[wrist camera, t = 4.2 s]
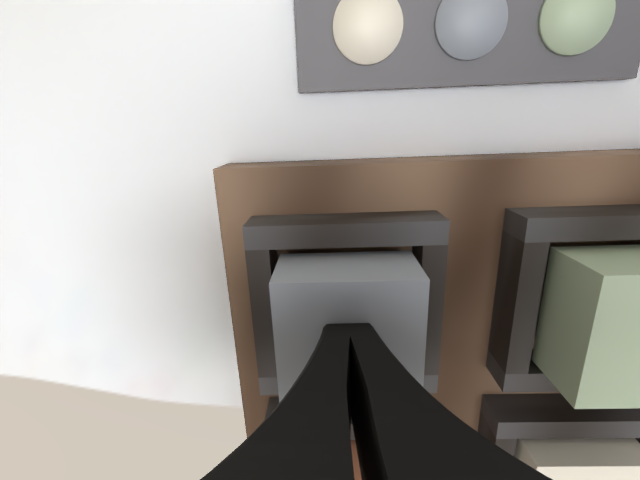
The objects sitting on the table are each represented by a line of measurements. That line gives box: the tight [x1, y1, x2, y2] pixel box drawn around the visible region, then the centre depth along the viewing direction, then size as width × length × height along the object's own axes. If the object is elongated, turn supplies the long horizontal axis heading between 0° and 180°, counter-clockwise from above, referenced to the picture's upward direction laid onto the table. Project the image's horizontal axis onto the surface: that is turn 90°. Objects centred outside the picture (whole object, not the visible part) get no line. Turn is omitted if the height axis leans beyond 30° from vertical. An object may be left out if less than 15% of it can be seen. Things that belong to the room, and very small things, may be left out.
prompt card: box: [294, 0, 640, 93], centre depth 12 cm, size 12×4×1 cm, turn 92°
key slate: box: [269, 251, 430, 403], centre depth 12 cm, size 4×4×2 cm
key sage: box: [532, 244, 640, 409], centre depth 11 cm, size 4×4×2 cm
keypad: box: [213, 149, 640, 456], centre depth 15 cm, size 18×18×4 cm
